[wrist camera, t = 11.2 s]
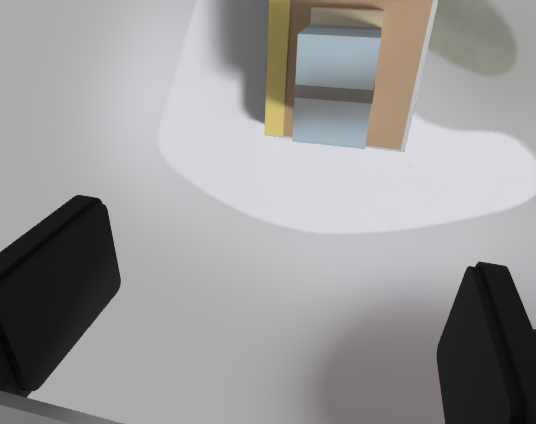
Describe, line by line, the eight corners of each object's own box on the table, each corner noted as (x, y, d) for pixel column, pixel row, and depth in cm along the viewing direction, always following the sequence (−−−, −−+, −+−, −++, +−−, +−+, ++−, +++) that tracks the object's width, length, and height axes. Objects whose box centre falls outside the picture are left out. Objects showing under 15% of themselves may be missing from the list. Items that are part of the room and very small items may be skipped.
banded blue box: (313, 7, 30) (297, 15, 25) (384, 9, 29) (384, 19, 24) (305, 125, 35) (290, 154, 30) (366, 131, 34) (363, 162, 29)
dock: (277, -20, 33) (268, -19, 30) (436, -12, 30) (441, -10, 28) (271, 126, 39) (263, 138, 36) (403, 142, 37) (404, 155, 34)
